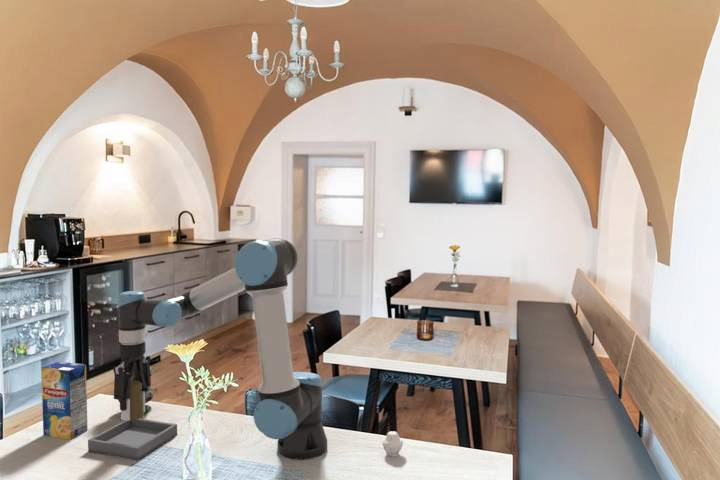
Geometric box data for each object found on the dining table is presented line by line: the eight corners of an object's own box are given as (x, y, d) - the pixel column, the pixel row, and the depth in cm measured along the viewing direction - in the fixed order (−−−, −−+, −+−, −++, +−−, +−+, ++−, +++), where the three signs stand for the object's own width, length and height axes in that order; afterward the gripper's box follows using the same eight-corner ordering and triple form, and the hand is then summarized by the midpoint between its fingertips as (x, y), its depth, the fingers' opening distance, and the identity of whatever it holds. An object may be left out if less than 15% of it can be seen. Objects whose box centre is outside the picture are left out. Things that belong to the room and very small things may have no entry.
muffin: (400, 460, 154) (400, 437, 153) (379, 457, 156) (380, 434, 155) (404, 451, 160) (405, 428, 159) (385, 448, 162) (385, 425, 161)
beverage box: (71, 439, 166) (69, 370, 165) (43, 435, 169) (40, 367, 168) (87, 430, 173) (86, 364, 171) (60, 426, 176) (58, 361, 174)
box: (177, 434, 170) (177, 424, 170) (138, 460, 153) (137, 448, 152) (131, 427, 175) (130, 417, 175) (88, 451, 158) (87, 439, 158)
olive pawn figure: (136, 421, 160) (135, 385, 159) (118, 419, 161) (117, 384, 160) (147, 413, 166) (147, 379, 165) (130, 411, 167) (130, 377, 166)
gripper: (143, 333, 172) (144, 403, 174) (98, 348, 154) (100, 426, 156) (162, 335, 170) (163, 406, 171) (119, 351, 152) (120, 429, 153)
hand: (133, 415), depth 163 cm, fingers closed on olive pawn figure, 6 cm apart
